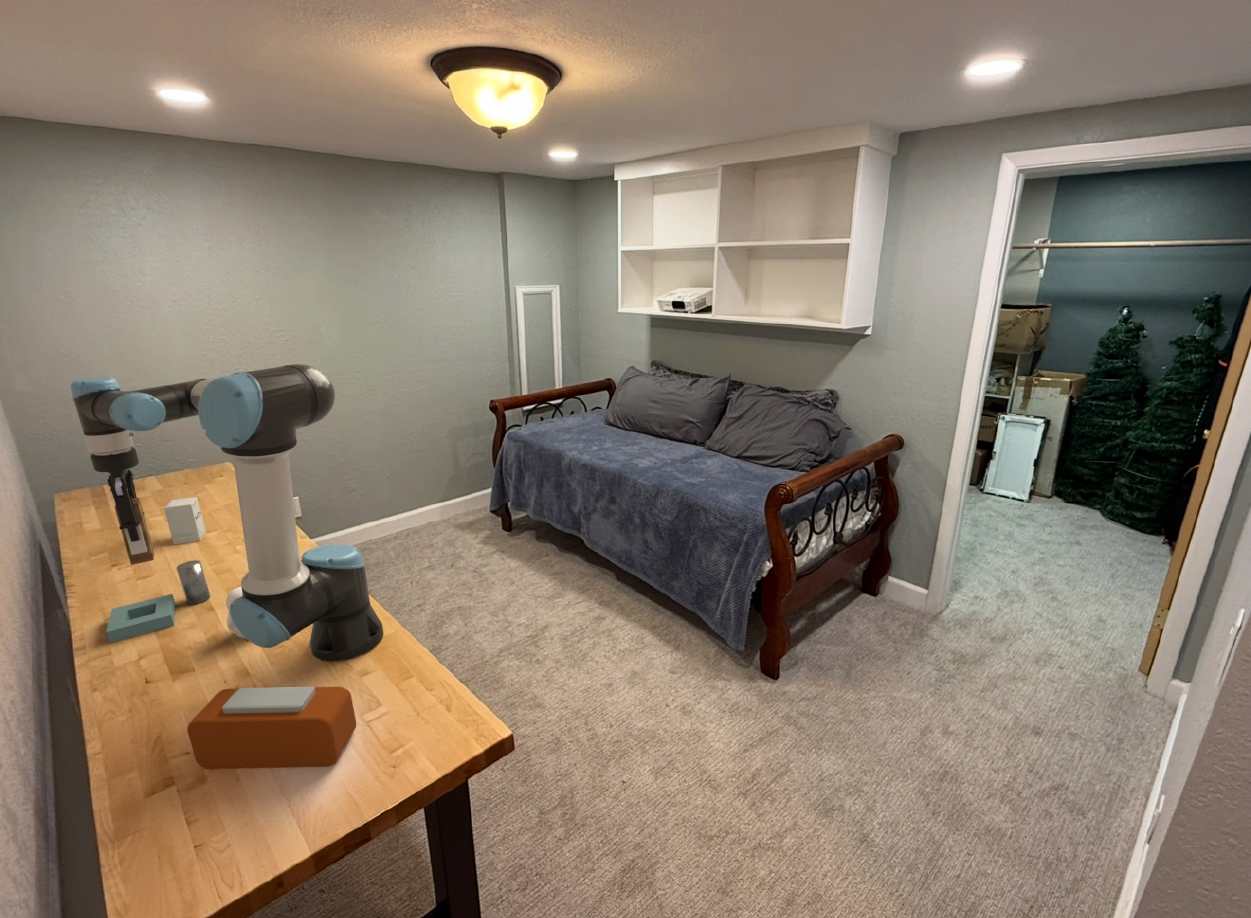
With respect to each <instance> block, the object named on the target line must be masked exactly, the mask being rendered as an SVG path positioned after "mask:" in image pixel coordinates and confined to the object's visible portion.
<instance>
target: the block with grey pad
mask: <svg viewBox="0 0 1251 918" xmlns="http://www.w3.org/2000/svg"><path fill="white" fill-rule="evenodd" d="M356 728H357V719H356V713H355V708H354V704H353V698H352V694H351V692H350V691H349V690H348V689H347V688H345V687H343V686H290V687H289V686H286V687H285V686H283V687H282V686H281V687H279V686H278V687H241V688H224V689H221V690H220V691H218V693H216V694H215V695H214V696H213V698H212V699H211V700H210V701H208V703H207V704H206V705H205V706H204V707H203V708H202V709H201V710H200V711H199V712H198V713H197V714H196V715H195V717H193V719H192V720H191V721H189V724H188V726H187V728H186V731H187V735H188V738H189V741H190V745H191V748H192V752H193V755H194V758H195V761H196V763H197V764H198V765H199V766H200V767H202V768H203V769H207V770H225V769H226V770H227V769H228V770H230V769H233V770H234V769H238V770H239V769H276V768H277V769H279V768H280V769H281V768H283V769H285V768H286V769H287V768H327V767H331V766H332V765H334V764H336V763H337V761H338V759H339V758H340V756H341V755H342V753H343V750H344V749H345V748H346V746H347V744H348V742H349V741H350V739H351V737H352V735H353V733H354V732H355V730H356Z"/></svg>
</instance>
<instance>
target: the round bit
mask: <svg viewBox="0 0 1251 918" xmlns="http://www.w3.org/2000/svg"><path fill="white" fill-rule="evenodd" d="M176 571H177V574H178V577H179V581H180V583H181V587H182V590H183V594H184V597H185V599H186V603H187V604H188V605H190V606H191V605H198V604H201V603H204V602H206V601H209V599H210V598H211V594H210V591H209V587H208V583H207V579H206V576H205V573H204V569H203V566H202V563H201V560H198V559H196V560H189V561H186V562H185V561H184V562H183V563H180V564H179V565H178V566H176Z"/></svg>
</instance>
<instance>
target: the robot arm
mask: <svg viewBox="0 0 1251 918" xmlns="http://www.w3.org/2000/svg"><path fill="white" fill-rule="evenodd" d="M70 390H71V395H72V399H71V400H72V401H73V402H74V406H75V409H76V412H77V416H78V419H79V422H80V425H81V429H82V432H83V437H84V440H85V444H86V448H87V452H89V453H91V454H90V456H89V457H90V462H91V464H92V468H93V470H94V471H96V472H98V473H108V474H109V475H108V478H107V480H106V481H107V484H108V487H109V488H110V489H109V491H110V493H111V495H112V498H113V501H114V504H116V508H117V511H118V514H119V518H120V521H121V526H120V525H119V527H118V529H119V530H121V529H124V530H125V533H126V537H127V540H128V544H129V547H130V551H131V554H132V555H134V554H139V553H143V552H147V548H146V544H145V541H144V537H143V534H142V530H141V526H140V524H139V522H138V520H137V516H136V512H135V508H134V503H133V499H134V498H138V496H137V492H136V486H135V483H134V474H133V472H132V471H131V469H132V468H134V467H136V466H138V465H139V463H140V461H139V458H138V457H139V456H138V452H137V450H136V448H134V447H133V446H135V443H134V439H133V437H136V433H135V432H148V431H149V432H150V431H152V430H154V429H156V428H158V427H160V426H161V425H162V424H164V423H168V422H173V421H177V420H180V419H186V418H190V417H191V418H192V417H196V416H198V420H199V423H200V425H201V429H203V430H205V432H204V433H205V436H206V438H207V439H209V441H210V442H211V443H213V444H214V445H216V446H217V447H219V448H220V449H221V453H223V454H224V455H226V456H227V457H229V458H230V459H232V460H233V468H234V475H235V482H236V491H237V495H238V497H237V498H238V503H239V511H240V517H241V526H242V530H243V532H242V533H243V539H244V545H245V546H244V547H245V553H246V561H247V567H248V572H246V574H245V575H244V576H243V577H242V578H241V581H240V585H241V586H240V587H242V594H243V595H242V597H239V598H236V599H235V600H234V601H233V603H232V604H231V605H230V615H231V618H232V620H233V622H234V624H235V626H236V627H237V629H238V630H239V631H240V632H241V633H242V634H243V636H244V637H245V638H244V639H246V640H248V641H249V642H250V643H252V644H253V645H254V646H257V647H259V648H262V649H263V648H264V649H270V648H273V647H277V646H278V645H280V644H282V643H284V642H287V641H289V640H290V639H291V638H293V636H296V634H298V633H300V632H302V631H303V630H304V629H306V628H308V627H309V626H311V625H312V628H311V633H310V637H309V638H310V639H309V647H310V652H311V655H312V657H314V659H317V660H320V661H323V662H328V663H329V662H331V663H332V662H333V663H334V662H343V661H348V660H351V659H355V658H357V657H359V656H362V655H364V654H367V653H369V652H370V651H372V650H373V649H374V648H375V647H377V646H378V645H379V643H381V641H382V639H383V638H384V637H383V636H384V627H383V623H382V621H381V619H380V618H379V616H378V614H377V613H376V611H375V609H374V607H372V605H371V601H370V595H369V593H370V592H369V588H368V581H367V576H366V570H365V569H366V568H365V566H366V565H365V563H364V559H363V555H362V552H361V551H360V549H359V548H357V547H355V546H352V545H349V544H327V545H321V546H317V547H313V548H310V549H308V550H306V551H305V552H304V553H303V554H302V556H301V559H300V553H299V551H300V550H299V541H298V533H297V524H296V523H297V521H296V513H295V505H294V503H295V502H294V495H293V484H292V483H293V482H292V475H291V463H290V456H289V454H291V452H293V450H295V449H296V448H297V445H298V443H297V441H298V440H297V430H298V429H302V428H305V427H308V426H312V425H314V424H316V423H318V422H319V421H322V420H323V419H324V418H325V417H326V416H327V415H328V414H329V413H330V412H331V410H332V409H333V406H334V402H335V398H336V391H335V388H334V385H333V383H332V381H331V379H330V377H329V376H328V375H326V374H325V373H324V371H322V370H320V369H318V367H317V368H316V366H315V367H314V366H312V365H308V364H301V363H299V364H297V363H295V364H286V365H282V366H275V367H270V368H265V369H257V370H250V371H245V372H244V371H243V372H240V371H239V372H235V373H231V374H229V375H225V376H221V377H216V378H210V377H209V378H199V379H198V378H197V379H194V380H190V381H185V382H179V383H172V384H168V385H159V386H154V387H148V388H141V389H136V390H130V391H129V390H121V387H120V385H119V383H118V380H117V379H116V378H114V377H112V376H93V377H92V376H91V377H85V378H80V379H76V380H74V381H72V382H71V383H70ZM143 513H144V516H146V515H145V511H144V510H143Z"/></svg>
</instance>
